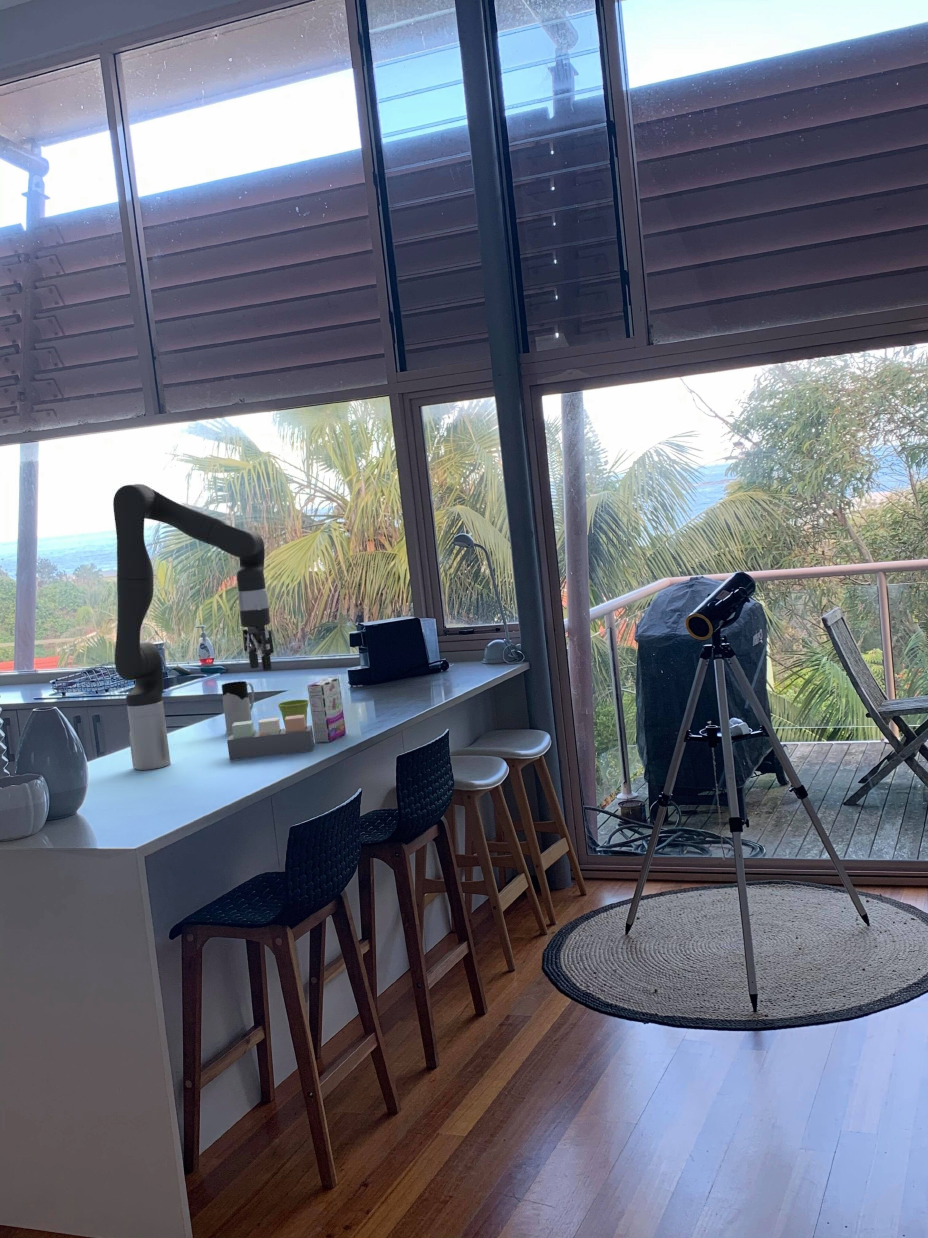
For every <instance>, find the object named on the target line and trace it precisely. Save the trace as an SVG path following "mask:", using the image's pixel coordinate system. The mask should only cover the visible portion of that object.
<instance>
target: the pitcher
mask: <svg viewBox="0 0 928 1238" xmlns="http://www.w3.org/2000/svg"><path fill="white" fill-rule="evenodd" d="M248 685H249V686H250V690H251V702H250V697H249V691H248ZM221 692H222V703H223V714H224V720H225V728H226V729H225V730H226V731H225V734H224V735H226V736H230V735H233V731H232V725H233V724H234V723H235V722H243V721H252V720H253V719H252V710H253V707H254V701H255V692H254V686H253V684H252V683H251V682H247V681H243V680H242V681H230V682H228V683H227V682H225V683H222V684H221Z"/></svg>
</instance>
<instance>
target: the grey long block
mask: <svg viewBox="0 0 928 1238" xmlns="http://www.w3.org/2000/svg"><path fill="white" fill-rule="evenodd" d="M226 742H227V750H228V757H229V761H231V762H232V761H238V760H248V759H254V758H256V759H257V758H263V757H272V756H281V755H290V754H297V753H306V752H313V751H314V748H315V738H314V731H313V724H311V725H307V726H306V730H305V731H296V732H288V733H286V729H285V728H280V733H278V732H275V733H271V735H267V734H260V733H259V731H254V736H253V737H245V738H236V739H233V735H229V737H228V739H227V741H226Z"/></svg>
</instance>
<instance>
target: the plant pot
mask: <svg viewBox="0 0 928 1238" xmlns="http://www.w3.org/2000/svg"><path fill="white" fill-rule="evenodd" d="M309 704H310V701H309V700H308V699H292V700H286V701H282V702H279V703H277V707H278V708H279V711H280V713H281V716H282V721H283V724H284V729H286V727H285V718H286V716H295V715H304V714H305V723H306V726H308V724H307V723H308V722H307V721H308V708H309Z"/></svg>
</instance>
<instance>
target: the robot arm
mask: <svg viewBox="0 0 928 1238" xmlns="http://www.w3.org/2000/svg"><path fill="white" fill-rule="evenodd" d="M112 503H113V504H112V506H113V515H114V524H115V534H116V568H117V569H116V591H117V592H116V593H117V616H116V617H117V623H116V624H117V625H116V627H117V628H116V638H115V648H114V664H115V665H114V666H115V670H116V673H117V674H118V676H119V677H120V678H121V679H123V680H124V681H134V680H135V684H134V686H133V688H132V689H131V690H130V691H129V692H128V694H126V697H125V700H126V701H125V702H126V708H127V715H128V716H127V717H128V722H129V731H130V732H129V733H128V739H129V747H130V755H131V761H132V763H131V764H132V768H133V769H135V770H139V771H144V770H155V769H159V768H160V769H161V768H163V767H164V768H165V767H167V766H169V765H170V764H171V756H170V748H169V747H170V746H169V740H168V733H167V725H166V718H165V711H164V709H165V708H164V703H163V702H164V701H163V692H164V688H165V687H164V686H165V685H164V683H165V682H164V673H163V672H164V671H163V670H164V669H163V662H162V657H161V652H160V651H159V649H158V648H157V646H156V645H155V644H154V643H152V642H149V641H144V642H141V629H142V626H143V622H144V620H145V617H146V615H147V614H148V611H149V609H150V606H151V604H152V601H153V597H154V592H155V591H154V567H153V564H152V561H151V558H150V556H149V553H148V550H147V547H146V542H145V519H146V520H151V521H157V522H160V523H164V524H167V525H169V526H171V527H173V528H175V529H177V530H179V531H180V532H182V533H183V534H185V535H186V536H189V537H190V538H193V539H194V540H197V541H199V542H203V543H205V544H207V545H210V546H213V547H216V548H218V549H219V550H221V551H224V552H226V553H227V554H230V555H231V556H233V557H236V558H239V568H238V570H237V572H236V581H237V589H238V590H237V592H238V595H237V597H238V598H237V601H238V610H239V618H240V619H239V620H240V625H241V627H242V628H244V629H242V637H243V638H242V639H243V649H244V652H246V653H247V655H248V661H249V662H248V663H249V668H250V669H252V670H253V669H257V668H259V666H260V665H259V656H258V655H259V654H260V658H261V660H260V661H261V669H262V671H264V672H265V671H271V670H272V663H271V661H272V660H271V656H272V654H274V649H275V648H274V642H273V636H272V630H271V629H267V630H266V626H268V625H270V624H271V618H270V617H271V616H270V608H269V607H270V606H269V599H268V594H267V589H266V582H265V573H264V568H265V542H264V539H263V537H262V536H261V534H260V533H259V532H257V531H255V530H251V529H250V530H243V529H239V528H236V527H234V526H231V525H229V524H228V522H226V521H224V520H223V519H219V518H217V517H214V516H212V515H210V514H206V513H204V512H201V511H198V510H195V509H193V508H190V507H188V506H186V505H183V504H180V503H178V502H176V501H174V500H172V499H171V498H169V497H166V496H165V495H163V494H161V493H160V492H159V491H157V490H155V489H154V488H151V487H150V486H148V485H145V484H141V483H137V484H136V483H135V484H125V485H122V486H120V488H118V489H117V490H116V492H115V493H114V495H113V502H112ZM258 651H259V654H258Z"/></svg>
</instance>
